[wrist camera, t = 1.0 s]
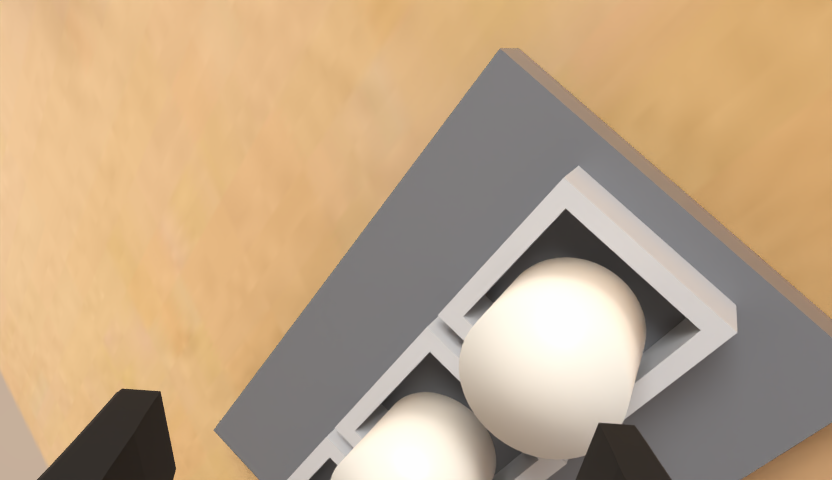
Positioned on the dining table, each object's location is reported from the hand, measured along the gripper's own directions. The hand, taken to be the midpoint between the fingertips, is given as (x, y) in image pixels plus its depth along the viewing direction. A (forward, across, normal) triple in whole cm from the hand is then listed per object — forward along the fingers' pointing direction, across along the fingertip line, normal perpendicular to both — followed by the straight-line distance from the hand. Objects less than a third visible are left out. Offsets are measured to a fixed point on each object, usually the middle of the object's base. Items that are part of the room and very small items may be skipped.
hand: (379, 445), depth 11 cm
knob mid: (+6, -2, +8) cm, 11 cm away
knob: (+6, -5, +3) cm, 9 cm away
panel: (+10, -4, +10) cm, 14 cm away
